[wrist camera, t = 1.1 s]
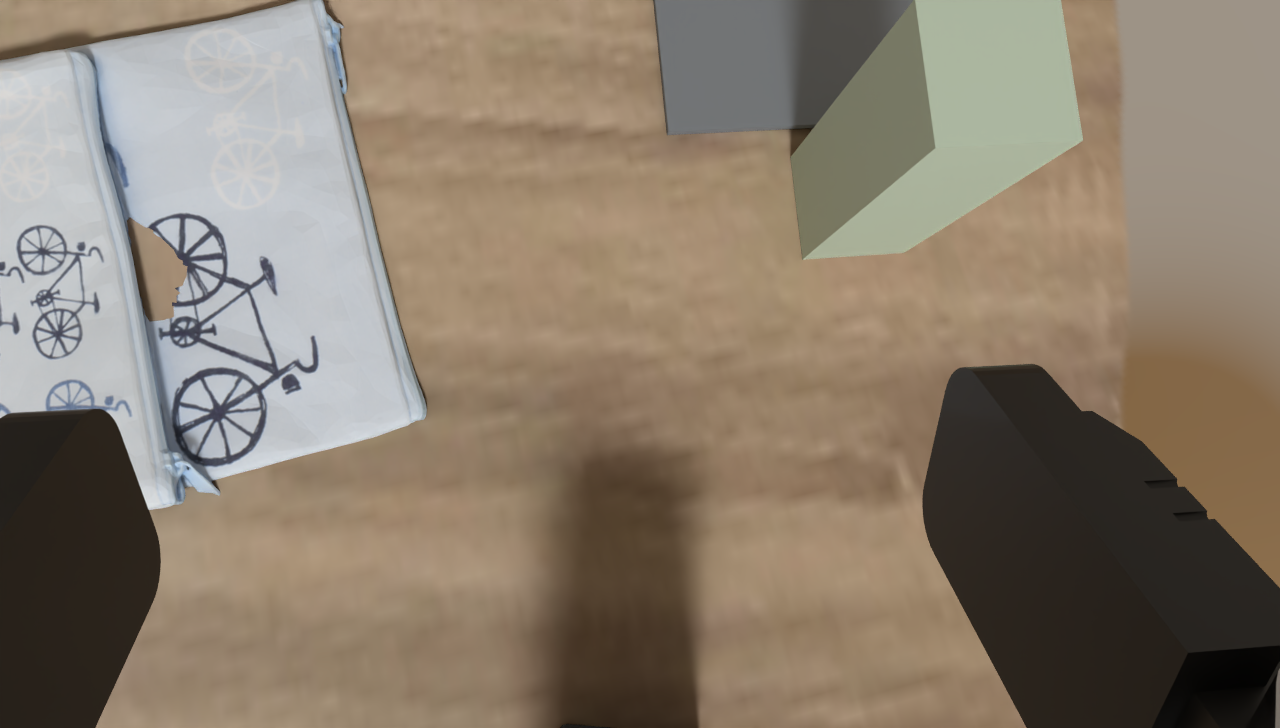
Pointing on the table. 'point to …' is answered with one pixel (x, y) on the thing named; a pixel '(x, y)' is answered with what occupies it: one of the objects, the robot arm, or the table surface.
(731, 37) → the felt mat
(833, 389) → the table surface
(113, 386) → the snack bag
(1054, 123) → the green block
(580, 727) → the box
